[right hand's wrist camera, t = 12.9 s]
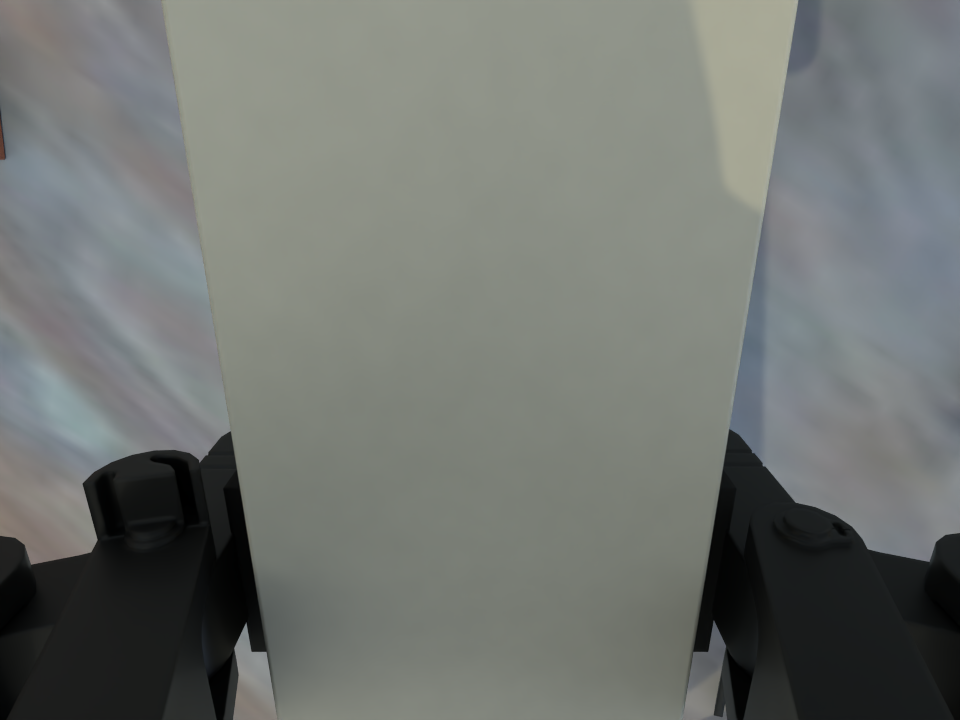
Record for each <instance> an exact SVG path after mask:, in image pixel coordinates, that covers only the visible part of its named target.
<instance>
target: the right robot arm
mask: <svg viewBox="0 0 960 720" xmlns="http://www.w3.org/2000/svg"><path fill="white" fill-rule="evenodd" d="M208 453H209V454H208V456H205V457H204V458H203V460H202V461H201V462H200V463H199V460H198V459H197V458H196V457H194V456H193V455H191V454H190V453H186V452H181V451H176V450H159V451H150V452H145V453H140V454H135V455H131V456H128V457H125V458H122V459H120V460H117V461H114V462H111V463H110V464H108V465H106V466H104V467H102V468H101V469H99V470H97V471H95V472H94V473H93V474H92V475H91V476H90V477H89V478H88V479H87V480H86V481H85V482H84V483H83V487H84V491H85V494H86V498H87V502H88V506H89V509H90V513H91V517H92V520H93V524H94V528H95V532H96V535H97V539H98V541H97V543H96V545H95V547H94V548H93V550H92V552H91V553H87V554H83V555H79V556H74V557H69V558H63V559H58V560H53V561H48V562H43V563H38V564H33V565H31V564H30V560H29V557H28V554H27V551H26V548H25V545H24V544H22V543H21V542H20V541H18V540H17V539H16V538H11V537H4V536H0V720H233V714H234V707H235V699H236V691H237V683H238V667H237V661H236V655H235V650H234V647H235V645H236V643H237V641H238V639H239V637H240V634H241V632H242V630H243V628H244V626H245V624H246V622H247V628H248V634H249V639H250V645H251V651H252V652H267V651H266V645H265V639H264V633H263V626H262V620H261V614H260V608H259V602H258V595H257V589H256V583H255V577H254V571H253V565H252V558H251V552H250V546H249V540H248V534H247V527H246V521H245V515H244V509H243V503H242V497H241V490H240V484H239V478H238V472H237V466H236V460H235V453H234V447H233V441H232V435H231V431H230V432H229V433H227V434H225V435H224V436H222V437H221V438H220V439H219V440H218V442H217V443H216V444H215V445H214V446H213V448H212V449H211V450H210V451H209V452H208ZM713 621H715V623H716V625H717V627H718V630H719V632H720V634H721V636H722V638H723V640H724V642H725V644H726V650H725V655H724V661H723V666H722V671H721V677H720V682H719V687H718V693H717V698H716V704H715V711H714V715H715V716H720V717H722V716H723V711H724V706H725V705H726V713H727V720H960V533H957V534H950V535H945V536H944V537H942V538H941V539H940V540H938V541H937V542H936V544H935V547H934V550H933V553H932V556H931V560H930V562H926V561H921V560H916V559H911V558H906V557H901V556H896V555H890V554H885V553H880V552H876V551H872V550H868V549H867V547H866V545H865V543H864V541H863V540H862V538H861V537H860V536H859V535H858V533H857V532H856V531H855V530H854V529H853V527H852V526H850V525H849V524H847V523H846V522H844V521H843V520H841V519H840V518H838V517H837V516H835V515H833V514H830V513H828V512H825V511H823V510H821V509H818V508H816V507H812V506H807V505H803V504H799V503H795V501H794V500H793V499H792V498H791V497H790V495H789V494H788V493H787V492H786V491H785V489H784V488H783V487H782V486H781V485H780V484H779V482H778V481H777V480H776V479H775V478H774V476H773V475H772V474H771V473H770V472H769V470H768V469H767V468H766V467H763V465H762V462H761V461H760V460H759V458H758V457H757V456H756V455H755V454H754V453H752V450H751V449H750V448H749V446H748V445H747V444H746V443H745V442H744V440H743V439H742V438H741V437H740V436H739V435H738V434H737V433H735V432H733V431H732V430H730V429H729V433H728V439H727V446H726V452H725V458H724V464H723V470H722V477H721V483H720V489H719V495H718V501H717V508H716V514H715V520H714V526H713V532H712V539H711V545H710V551H709V557H708V563H707V570H706V576H705V582H704V588H703V594H702V601H701V607H700V613H699V619H698V625H697V631H696V638H695V644H694V650H693V652H708V650H709V644H710V638H711V632H712V627H713Z"/></svg>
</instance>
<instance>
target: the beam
mask: <svg viewBox="0 0 960 720" xmlns="http://www.w3.org/2000/svg"><path fill="white" fill-rule="evenodd" d="M161 2H162V8H163V15H164V21H165V27H166V33H167V39H168V45H169V52H170V58H171V64H172V70H173V76H174V83H175V89H176V95H177V101H178V107H179V113H180V120H181V126H182V132H183V138H184V144H185V150H186V157H187V163H188V169H189V175H190V181H191V188H192V194H193V200H194V206H195V212H196V218H197V225H198V231H199V237H200V243H201V249H202V256H203V262H204V268H205V274H206V280H207V286H208V293H209V299H210V305H211V311H212V317H213V324H214V330H215V336H216V342H217V348H218V354H219V361H220V367H221V373H222V379H223V385H224V392H225V398H226V404H227V410H228V416H229V422H230V429H231V435H232V441H233V447H234V453H235V460H236V466H237V472H238V478H239V484H240V490H241V497H242V503H243V509H244V515H245V521H246V527H247V534H248V540H249V546H250V552H251V558H252V565H253V571H254V577H255V583H256V589H257V595H258V602H259V608H260V614H261V620H262V626H263V633H264V639H265V645H266V651H267V657H268V663H269V670H270V676H271V682H272V688H273V694H274V701H275V707H276V713H277V719H278V720H682V718H683V712H684V706H685V700H686V693H687V687H688V681H689V675H690V669H691V662H692V656H693V650H694V644H695V638H696V631H697V625H698V619H699V613H700V607H701V601H702V594H703V588H704V582H705V576H706V570H707V563H708V557H709V551H710V545H711V539H712V532H713V526H714V520H715V514H716V508H717V501H718V495H719V489H720V483H721V477H722V470H723V464H724V458H725V452H726V446H727V439H728V433H729V427H730V421H731V415H732V409H733V402H734V396H735V390H736V384H737V378H738V371H739V365H740V359H741V353H742V347H743V340H744V334H745V328H746V322H747V316H748V309H749V303H750V297H751V291H752V285H753V278H754V272H755V266H756V260H757V254H758V247H759V241H760V235H761V229H762V223H763V217H764V210H765V204H766V198H767V192H768V186H769V179H770V173H771V167H772V161H773V155H774V148H775V142H776V136H777V130H778V124H779V117H780V111H781V105H782V99H783V93H784V86H785V80H786V74H787V68H788V62H789V55H790V49H791V43H792V37H793V31H794V25H795V18H796V12H797V6H798V0H161Z"/></svg>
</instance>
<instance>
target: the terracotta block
mask: <svg viewBox="0 0 960 720" xmlns="http://www.w3.org/2000/svg"><path fill="white" fill-rule="evenodd" d="M4 159H5V153H4V145H3V136H2V127H1V118H0V160H4Z"/></svg>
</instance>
